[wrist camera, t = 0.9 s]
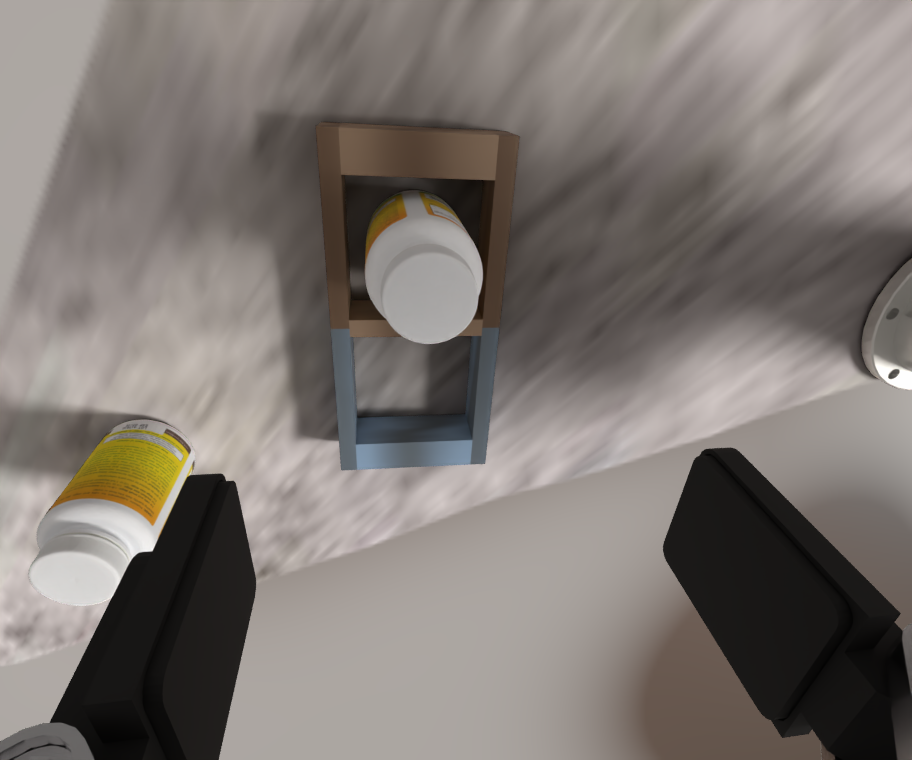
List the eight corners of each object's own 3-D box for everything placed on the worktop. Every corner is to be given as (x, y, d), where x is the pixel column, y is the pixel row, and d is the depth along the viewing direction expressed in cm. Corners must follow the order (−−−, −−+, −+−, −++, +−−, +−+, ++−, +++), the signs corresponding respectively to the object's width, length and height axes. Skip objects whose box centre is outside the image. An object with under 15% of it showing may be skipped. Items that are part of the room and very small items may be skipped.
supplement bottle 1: (95, 414, 32) (-11, 541, 23) (192, 415, 33) (125, 538, 24) (114, 483, 34) (26, 620, 26) (203, 482, 35) (147, 614, 27)
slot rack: (505, 131, 27) (519, 136, 24) (477, 436, 37) (485, 463, 34) (321, 121, 25) (315, 126, 23) (343, 442, 35) (341, 470, 33)
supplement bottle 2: (373, 288, 30) (373, 367, 22) (359, 192, 27) (353, 241, 19) (463, 279, 31) (497, 352, 22) (458, 184, 28) (495, 228, 19)
